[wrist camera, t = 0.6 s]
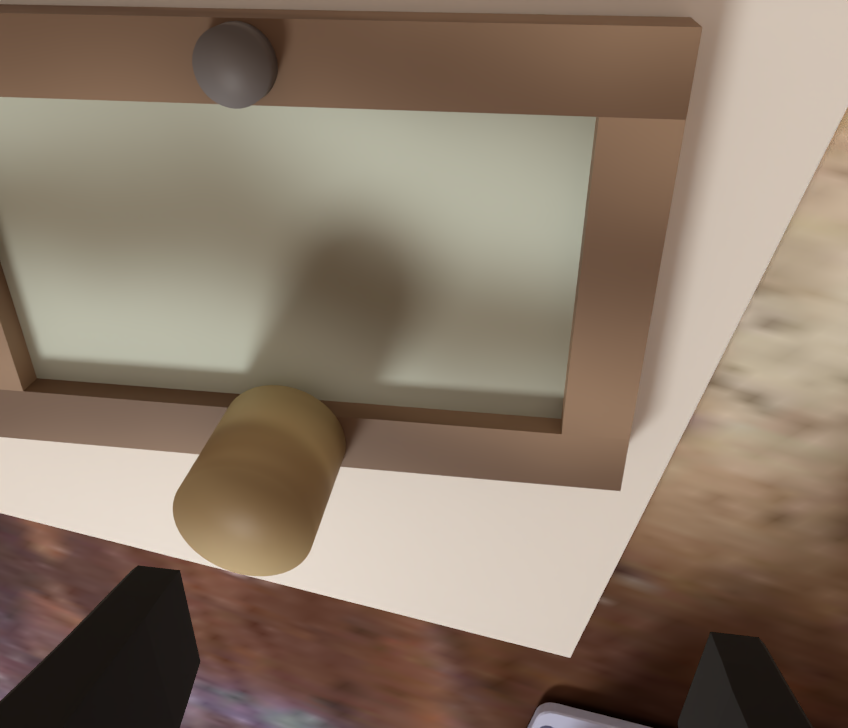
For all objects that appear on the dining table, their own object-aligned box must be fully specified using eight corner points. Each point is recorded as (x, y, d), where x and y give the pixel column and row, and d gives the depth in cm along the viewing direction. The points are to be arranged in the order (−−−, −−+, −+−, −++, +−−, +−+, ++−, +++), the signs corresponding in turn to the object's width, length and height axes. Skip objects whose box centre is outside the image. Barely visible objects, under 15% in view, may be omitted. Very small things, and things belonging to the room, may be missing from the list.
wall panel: (569, 636, 24) (569, 659, 23) (-88, 468, 24) (-108, 487, 23) (933, -105, 13) (955, -105, 12) (-266, -407, 13) (-313, -425, 12)
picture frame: (612, 482, 19) (628, 615, 16) (19, 431, 21) (-86, 540, 18) (690, 17, 14) (742, 61, 10) (-128, 1, 15) (-328, 34, 12)
